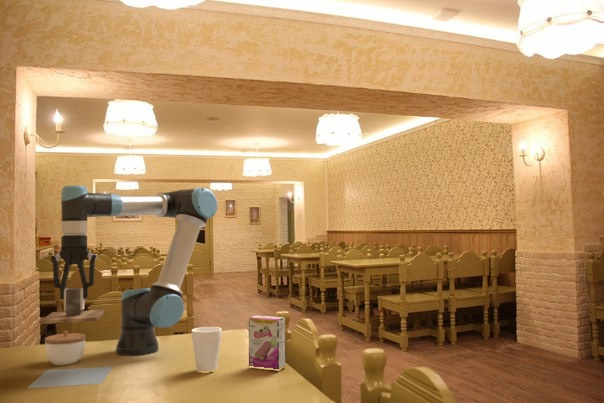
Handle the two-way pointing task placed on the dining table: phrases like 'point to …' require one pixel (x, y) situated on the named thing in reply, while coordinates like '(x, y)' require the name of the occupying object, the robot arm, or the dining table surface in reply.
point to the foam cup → (206, 347)
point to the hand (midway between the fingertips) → (74, 309)
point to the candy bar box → (267, 342)
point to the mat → (71, 377)
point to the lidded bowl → (65, 348)
